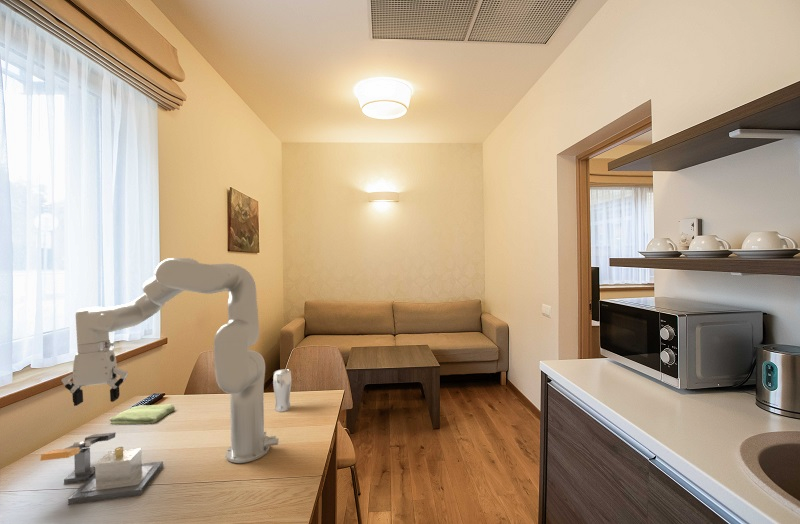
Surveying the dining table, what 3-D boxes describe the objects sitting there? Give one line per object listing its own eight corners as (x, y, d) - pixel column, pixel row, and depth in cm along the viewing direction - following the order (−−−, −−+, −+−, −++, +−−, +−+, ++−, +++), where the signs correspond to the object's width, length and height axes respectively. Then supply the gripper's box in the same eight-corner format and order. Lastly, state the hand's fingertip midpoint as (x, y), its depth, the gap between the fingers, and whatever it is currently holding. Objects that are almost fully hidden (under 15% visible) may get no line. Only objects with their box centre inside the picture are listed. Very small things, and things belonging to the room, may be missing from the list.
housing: (141, 469, 100) (141, 441, 100) (130, 482, 95) (129, 452, 94) (109, 473, 99) (108, 444, 99) (95, 486, 93) (94, 456, 93)
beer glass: (288, 412, 140) (288, 374, 140) (271, 412, 140) (270, 374, 140) (294, 405, 147) (293, 369, 147) (277, 405, 147) (276, 369, 147)
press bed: (165, 462, 107) (165, 438, 106) (140, 495, 92) (139, 467, 92) (76, 472, 102) (75, 447, 102) (34, 509, 87) (33, 479, 87)
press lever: (115, 437, 110) (115, 432, 111) (68, 457, 90) (69, 451, 91) (92, 439, 109) (93, 434, 109) (40, 461, 89) (41, 454, 89)
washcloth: (134, 410, 144) (133, 402, 144) (176, 410, 144) (176, 402, 144) (106, 426, 131) (106, 417, 131) (153, 426, 131) (153, 417, 131)
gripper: (131, 342, 116) (134, 394, 116) (69, 347, 112) (72, 400, 112) (119, 347, 108) (122, 403, 109) (51, 353, 105) (55, 410, 105)
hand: (96, 402), depth 111 cm, fingers open, 9 cm apart
